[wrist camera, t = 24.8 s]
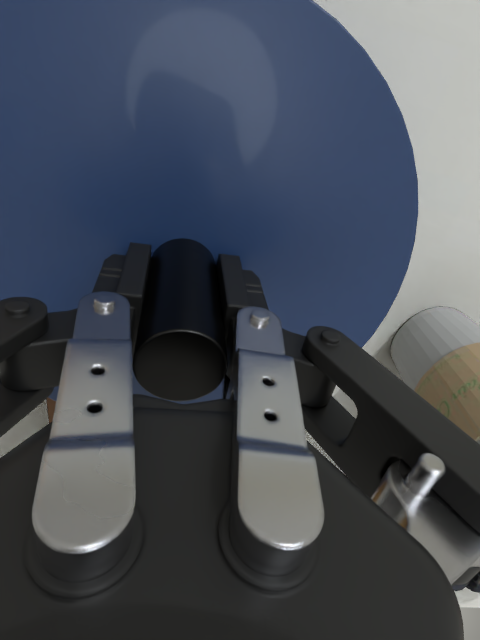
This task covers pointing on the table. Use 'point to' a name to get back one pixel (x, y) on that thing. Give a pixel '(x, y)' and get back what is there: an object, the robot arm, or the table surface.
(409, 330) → the coffee cup
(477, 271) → the table surface
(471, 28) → the table surface
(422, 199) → the table surface
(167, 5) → the lid
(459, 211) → the table surface
